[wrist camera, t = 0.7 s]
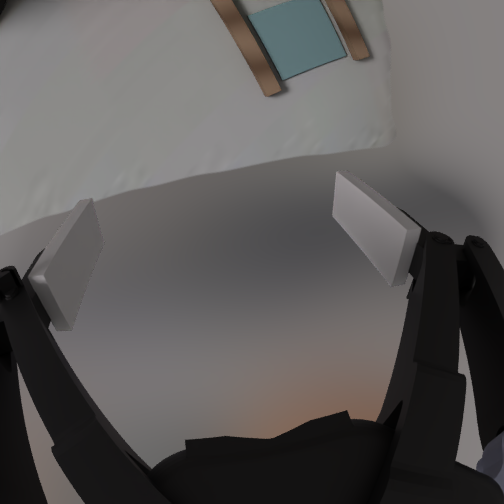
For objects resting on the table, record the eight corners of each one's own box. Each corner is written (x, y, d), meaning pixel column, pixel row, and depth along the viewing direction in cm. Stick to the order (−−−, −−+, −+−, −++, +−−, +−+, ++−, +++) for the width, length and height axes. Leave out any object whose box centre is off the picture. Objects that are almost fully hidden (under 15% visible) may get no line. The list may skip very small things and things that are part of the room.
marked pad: (247, 16, 28) (247, 16, 28) (314, -6, 27) (315, -7, 27) (282, 80, 34) (282, 80, 34) (345, 55, 33) (346, 55, 32)
